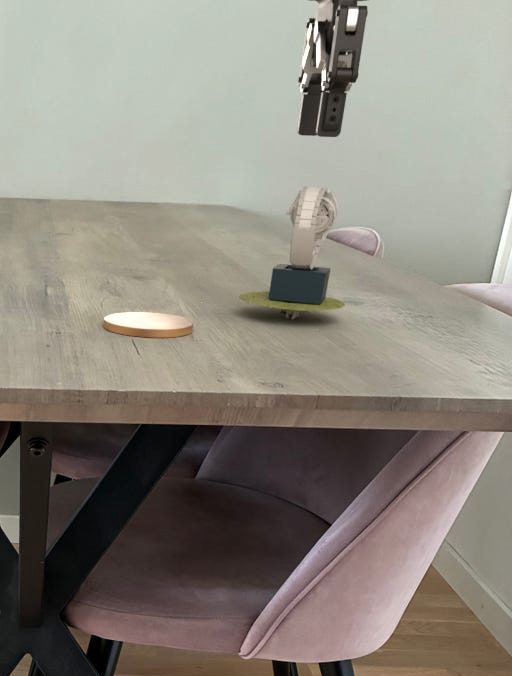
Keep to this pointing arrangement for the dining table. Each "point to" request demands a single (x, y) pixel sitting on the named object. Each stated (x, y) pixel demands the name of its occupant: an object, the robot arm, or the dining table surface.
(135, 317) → the coaster
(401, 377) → the dining table surface
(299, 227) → the watch
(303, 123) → the robot arm
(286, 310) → the olive green disc
